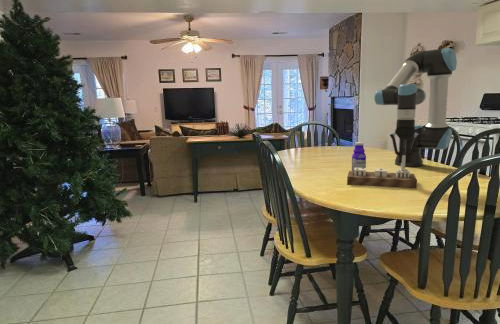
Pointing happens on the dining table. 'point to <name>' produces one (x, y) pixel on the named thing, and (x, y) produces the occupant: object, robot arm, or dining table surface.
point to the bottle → (358, 156)
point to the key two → (360, 171)
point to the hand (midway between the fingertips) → (402, 169)
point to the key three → (402, 173)
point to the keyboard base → (382, 180)
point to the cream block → (380, 172)
